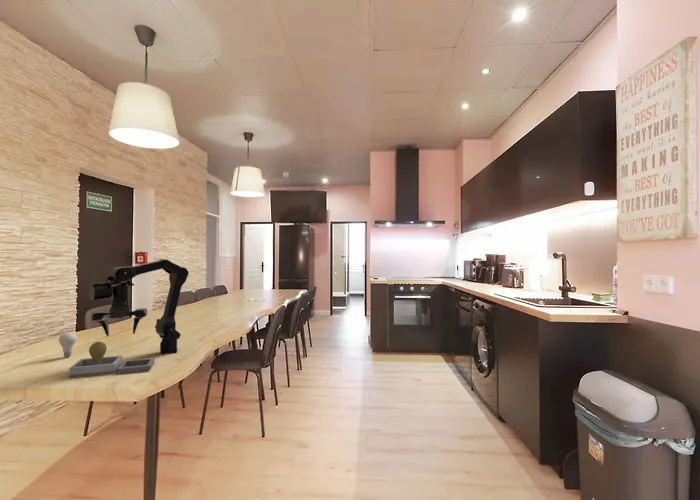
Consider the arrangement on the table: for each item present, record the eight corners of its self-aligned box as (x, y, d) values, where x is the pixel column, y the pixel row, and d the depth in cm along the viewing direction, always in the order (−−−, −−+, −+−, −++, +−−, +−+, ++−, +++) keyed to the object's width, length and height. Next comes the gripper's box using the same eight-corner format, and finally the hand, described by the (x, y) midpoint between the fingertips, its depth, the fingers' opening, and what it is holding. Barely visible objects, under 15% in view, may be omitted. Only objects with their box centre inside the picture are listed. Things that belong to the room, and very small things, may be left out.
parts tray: (122, 364, 144) (122, 355, 144) (114, 373, 132) (114, 364, 132) (80, 367, 138) (80, 359, 138) (69, 377, 127) (69, 368, 127)
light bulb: (97, 370, 132) (97, 344, 132) (84, 369, 133) (85, 343, 133) (109, 366, 138) (110, 340, 138) (97, 365, 139) (98, 339, 139)
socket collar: (154, 362, 146) (154, 357, 146) (150, 370, 135) (150, 365, 136) (123, 365, 142) (123, 360, 142) (116, 374, 131) (117, 368, 131)
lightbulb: (77, 357, 152) (78, 332, 153) (59, 360, 148) (60, 334, 148) (74, 354, 157) (75, 329, 157) (57, 357, 152) (57, 331, 152)
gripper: (87, 301, 135) (87, 342, 135) (143, 298, 142) (143, 337, 142) (95, 297, 145) (96, 335, 145) (147, 295, 152) (147, 331, 152)
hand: (121, 334), depth 146 cm, fingers open, 9 cm apart
